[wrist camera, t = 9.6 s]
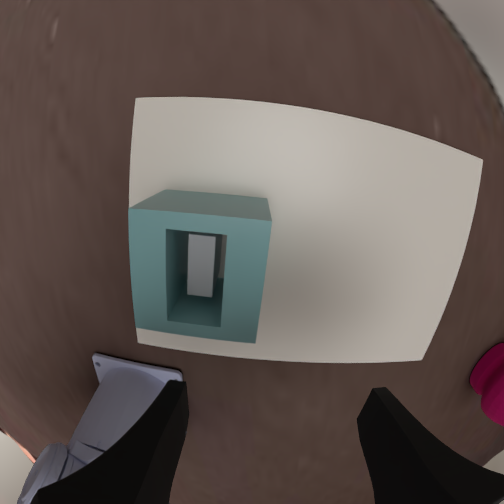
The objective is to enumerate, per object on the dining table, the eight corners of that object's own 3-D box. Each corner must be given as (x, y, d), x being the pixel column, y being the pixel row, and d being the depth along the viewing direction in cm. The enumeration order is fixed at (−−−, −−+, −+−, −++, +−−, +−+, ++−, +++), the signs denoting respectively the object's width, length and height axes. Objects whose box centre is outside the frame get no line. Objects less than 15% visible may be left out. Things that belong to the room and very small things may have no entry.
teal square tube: (255, 292, 17) (255, 343, 13) (164, 281, 17) (135, 327, 13) (267, 198, 15) (272, 221, 11) (165, 189, 15) (128, 208, 11)
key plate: (416, 351, 21) (438, 387, 16) (143, 333, 20) (121, 373, 16) (472, 158, 15) (516, 166, 11) (143, 100, 15) (108, 88, 10)
